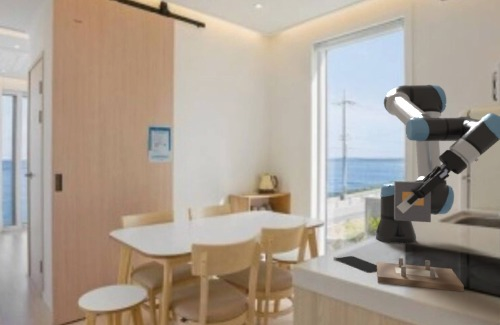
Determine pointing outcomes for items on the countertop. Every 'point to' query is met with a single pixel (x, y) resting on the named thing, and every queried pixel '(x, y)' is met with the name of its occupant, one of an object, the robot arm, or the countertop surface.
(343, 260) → the smartphone
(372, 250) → the countertop surface
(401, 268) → the dock
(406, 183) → the block
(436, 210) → the robot arm
